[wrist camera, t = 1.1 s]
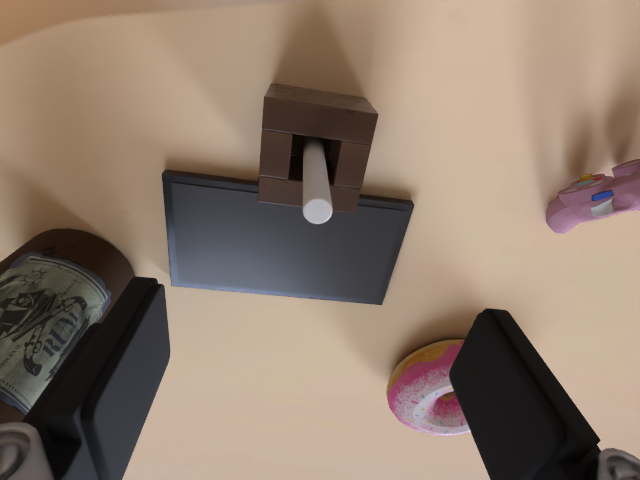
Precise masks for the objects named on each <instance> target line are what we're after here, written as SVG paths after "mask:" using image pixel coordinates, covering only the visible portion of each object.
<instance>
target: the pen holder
mask: <svg viewBox="0 0 640 480" xmlns="http://www.w3.org/2000/svg"><path fill="white" fill-rule="evenodd" d="M377 118H378V113H377V112H376V110H375V109H374V108H373V107H372V105H371V104H370V103H369V101H368V100H367V99H366V98H362V97H356V96H350V95H343V94H337V93H331V92H324V91H318V90H312V89H305V88H299V87H292V86H286V85H280V84H273V83H271V85H270V87H269V89H268V91H267V92H266V94H265V96H264V106H263V121H262V137H261V152H260V167H259V182H258V198H257V201H258V202H262V203H270V204H279V205H287V206H295V207H303V157H300V156H293V155H291V150H292V141H293V134H299V135H306V136H313V137H320V138H327V139H333V140H332V146H331V151H330V157H329V160H325V162H326V169H327V175H328V182H329V189H330V196H331V202H332V209H333V211H337V212H346V213H354V214H355V213H356V209H357V205H358V200H359V196H360V192H361V187H362V183H363V179H364V174H365V170H366V166H367V161H368V157H369V153H370V148H371V144H372V140H373V136H374V131H375V127H376V123H377Z"/></svg>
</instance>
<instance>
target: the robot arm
mask: <svg viewBox="0 0 640 480" xmlns="http://www.w3.org/2000/svg"><path fill="white" fill-rule="evenodd" d="M169 358H170V342H169V331H168V321H167V310H166V299H165V289H164V285H163V284H158V281H157V279H155V278H146V277H133V278H132V279H131V280H130V282H129V283H128V285H127V286H126V288H125V289H124V291H123V292H122V294H121V295H120V297H119V298H118V300H117V301H116V303H115V304H114V305H113V307H112V308H111V310H110V311H109V313H108V314H107V316H106V317H105V319H104V320H103V322H102V323H93V324H91V325H90V326H89V327H88V328H87V330H86V331H85V332H84V334H83V335H82V337H81V338H80V339H79V341H78V342H77V344H76V345H75V347H74V348H73V349H72V351H71V352H70V354H69V355H68V356H67V358H66V359H65V361H64V362H63V364H62V365H61V366H60V368H59V369H58V371H57V372H56V373H55V375H54V376H53V378H52V379H51V381H50V382H49V383H48V385H47V386H46V388H45V389H44V390H43V392H42V393H41V395H40V396H39V397H38V399H37V400H36V402H35V403H34V405H33V406H32V407H31V409H30V410H29V412H28V413H27V414H26V416H25V417H24V419H23V420H22V422H11V423H4V424H0V480H122V478H123V476H124V473H125V471H126V468H127V466H128V463H129V461H130V458H131V456H132V453H133V450H134V448H135V445H136V443H137V440H138V438H139V435H140V433H141V430H142V428H143V425H144V423H145V420H146V418H147V415H148V413H149V410H150V408H151V405H152V402H153V400H154V397H155V395H156V392H157V390H158V387H159V385H160V382H161V380H162V377H163V375H164V372H165V370H166V367H167V365H168V362H169ZM449 379H450V383H451V385H452V387H453V390H454V392H455V395H456V397H457V399H458V402H459V404H460V407H461V409H462V412H463V414H464V416H465V419H466V421H467V424H468V426H469V429H470V431H471V433H472V436H473V438H474V441H475V443H476V445H477V448H478V450H479V453H480V455H481V458H482V460H483V462H484V465H485V467H486V470H487V472H488V474H489V477H490V479H491V480H640V460H639V459H638V458H636V457H635V456H633V455H631V454H629V453H627V452H625V451H622V450H618V449H614V448H609V449H605V450H603V451H602V452H601V450H600V449H599V447H598V446H597V444H598V443H599V442H600V439H599V437H598V436H597V435H596V433H595V432H594V430H593V429H592V428H591V426H590V425H589V423H588V422H587V421H586V419H585V418H584V416H583V415H582V414H581V412H580V411H579V409H578V408H577V407H576V405H575V404H574V403H573V401H572V400H571V398H570V397H569V396H568V394H567V393H566V391H565V390H564V389H563V387H562V386H561V384H560V383H559V382H558V380H557V379H556V377H555V376H554V375H553V373H552V372H551V370H550V369H549V368H548V366H547V365H546V363H545V362H544V361H543V359H542V358H541V356H540V355H539V354H538V352H537V351H536V349H535V348H534V347H533V345H532V344H531V343H530V341H529V340H528V338H527V337H526V336H525V334H524V333H523V331H522V330H521V329H520V327H519V326H518V324H517V323H516V322H515V320H514V319H513V317H512V316H511V315H510V313H509V312H508V311H506V310H499V309H485V310H484V311H483V312H482V313H479V314H478V315H477V317H476V319H475V321H474V323H473V325H472V327H471V329H470V331H469V333H468V335H467V337H466V339H465V341H464V343H463V345H462V347H461V349H460V351H459V353H458V355H457V356H456V358H455V360H454V362H453V364H452V366H451V368H450V371H449Z"/></svg>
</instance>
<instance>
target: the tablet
mask: <svg viewBox="0 0 640 480" xmlns="http://www.w3.org/2000/svg"><path fill="white" fill-rule="evenodd" d="M162 182H163V193H164V205H165V217H166V229H167V240H168V252H169V264H170V275H171V286H178V287H189V288H200V289H211V290H222V291H233V292H244V293H255V294H266V295H277V296H288V297H299V298H310V299H321V300H332V301H343V302H354V303H365V304H376V305H382V303H383V300H384V297H385V294H386V291H387V288H388V285H389V282H390V279H391V276H392V273H393V269H394V266H395V263H396V260H397V257H398V254H399V251H400V248H401V245H402V242H403V239H404V236H405V232H406V229H407V226H408V223H409V220H410V217H411V214H412V211H413V208H414V204H413V202H412V201H410V200H402V199H394V198H386V197H378V196H370V195H362V194H360V196H359V200H358V205H357V209H356V213H355V214H354V213H346V212H337V211H332V215H331V217H330V218H329V219H328V220H327V221H326V222H324V223H321V224H314V223H311V222H309V221H308V220H307V219H306V218H305V217H304V215H303V207H295V206H287V205H279V204H270V203H262V202H258V201H257V198H258V182H259V181H251V180H243V179H235V178H227V177H220V176H212V175H204V174H196V173H188V172H180V171H172V170H165V171H164V172H163V173H162Z"/></svg>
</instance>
